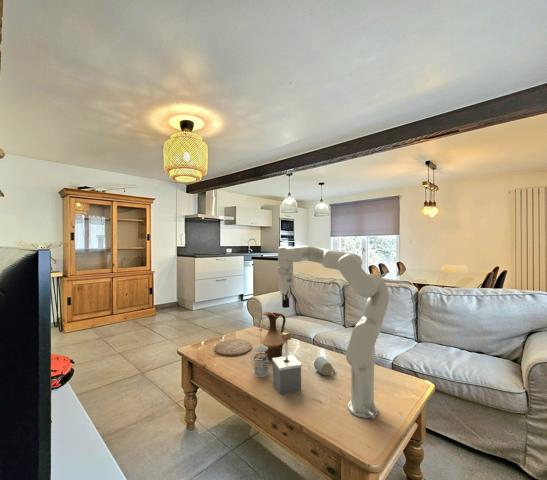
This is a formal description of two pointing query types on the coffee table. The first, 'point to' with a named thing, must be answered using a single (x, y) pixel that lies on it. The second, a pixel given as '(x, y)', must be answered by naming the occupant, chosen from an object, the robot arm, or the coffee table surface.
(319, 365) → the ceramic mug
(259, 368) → the french press
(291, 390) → the socket block
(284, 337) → the plunger
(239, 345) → the trivet
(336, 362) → the coffee table surface
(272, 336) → the pitcher
